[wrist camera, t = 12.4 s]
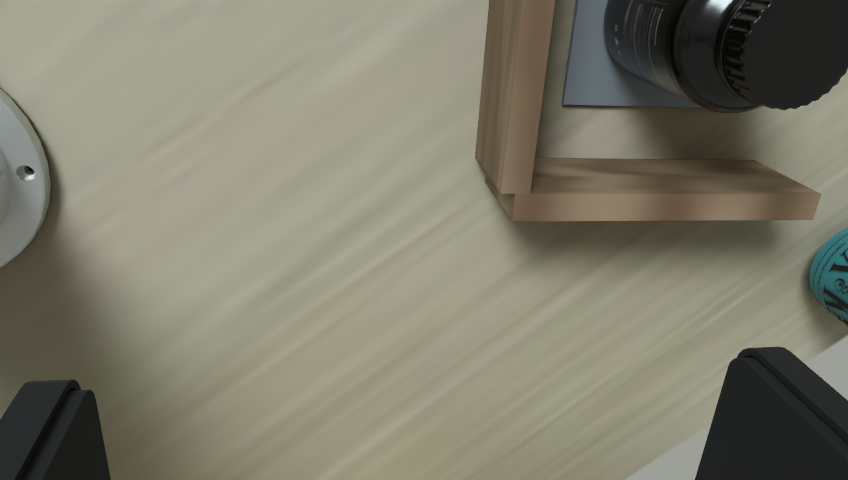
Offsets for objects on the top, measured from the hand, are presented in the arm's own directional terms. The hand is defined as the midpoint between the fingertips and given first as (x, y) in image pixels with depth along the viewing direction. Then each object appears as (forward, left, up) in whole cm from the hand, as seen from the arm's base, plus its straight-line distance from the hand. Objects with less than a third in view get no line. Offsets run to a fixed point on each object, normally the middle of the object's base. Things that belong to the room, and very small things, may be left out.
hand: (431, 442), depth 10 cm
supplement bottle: (+17, +4, -28) cm, 33 cm away
